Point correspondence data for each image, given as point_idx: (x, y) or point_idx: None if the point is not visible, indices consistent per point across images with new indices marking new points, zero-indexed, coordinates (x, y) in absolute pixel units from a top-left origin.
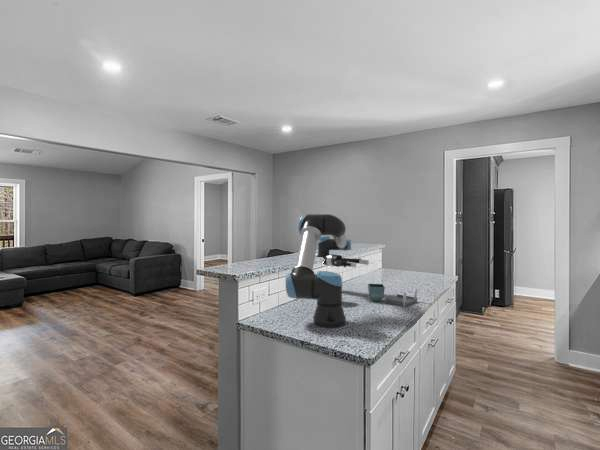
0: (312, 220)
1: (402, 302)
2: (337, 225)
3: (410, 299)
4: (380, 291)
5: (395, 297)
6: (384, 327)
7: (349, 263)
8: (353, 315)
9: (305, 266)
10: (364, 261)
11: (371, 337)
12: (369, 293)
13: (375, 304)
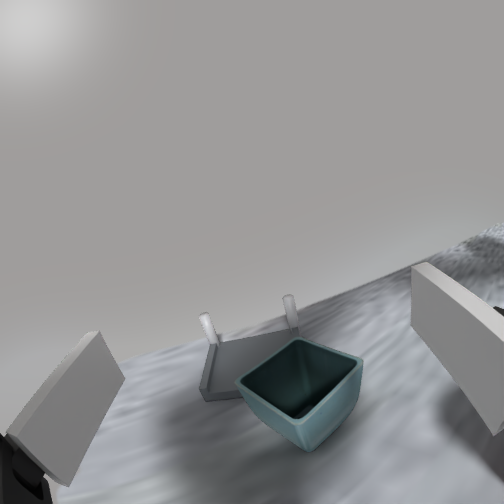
0: None
1: (298, 329)
2: None
3: (228, 350)
4: (315, 361)
5: (234, 385)
6: (456, 260)
7: (497, 311)
8: None
9: None
10: (82, 383)
11: (489, 243)
12: (348, 406)
13: (368, 382)
